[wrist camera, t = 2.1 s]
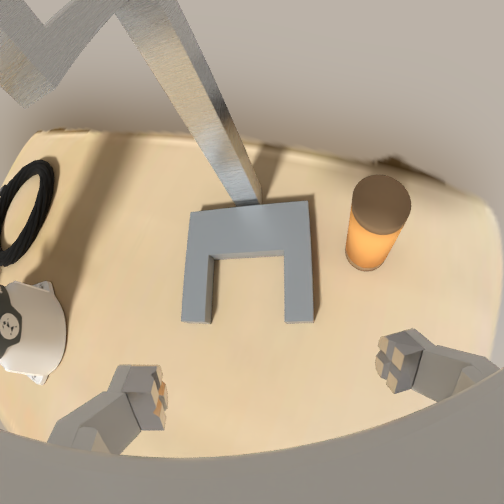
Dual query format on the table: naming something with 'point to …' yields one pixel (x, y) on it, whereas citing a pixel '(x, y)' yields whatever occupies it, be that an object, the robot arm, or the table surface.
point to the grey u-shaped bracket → (249, 254)
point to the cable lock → (37, 213)
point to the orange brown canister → (375, 220)
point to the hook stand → (156, 56)
